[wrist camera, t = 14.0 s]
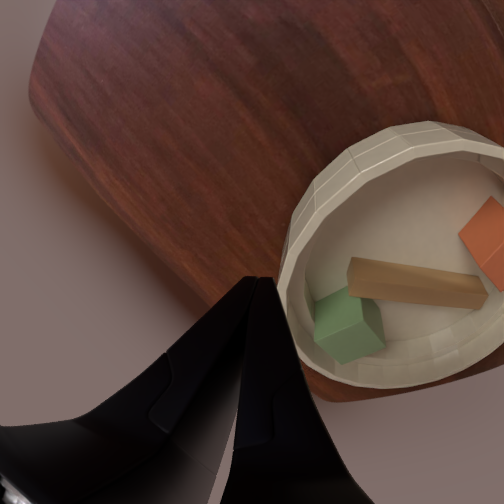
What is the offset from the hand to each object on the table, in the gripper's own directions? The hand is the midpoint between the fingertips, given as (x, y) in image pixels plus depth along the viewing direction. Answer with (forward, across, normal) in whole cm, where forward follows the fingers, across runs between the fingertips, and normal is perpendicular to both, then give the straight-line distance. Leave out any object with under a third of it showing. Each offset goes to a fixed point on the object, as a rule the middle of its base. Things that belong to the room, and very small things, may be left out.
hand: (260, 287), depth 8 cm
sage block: (+10, -5, +11) cm, 16 cm away
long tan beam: (+10, -10, +8) cm, 17 cm away
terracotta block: (+10, -15, +4) cm, 19 cm away
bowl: (+11, -10, +7) cm, 17 cm away
